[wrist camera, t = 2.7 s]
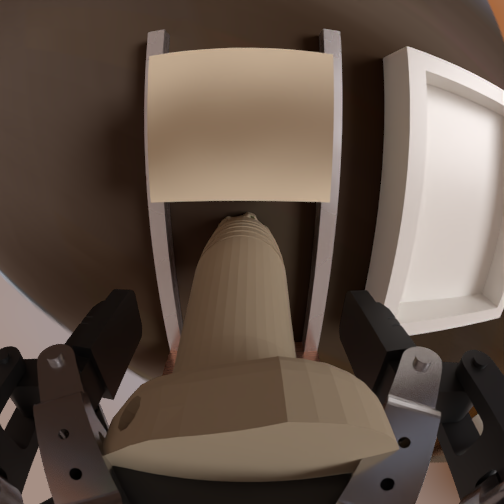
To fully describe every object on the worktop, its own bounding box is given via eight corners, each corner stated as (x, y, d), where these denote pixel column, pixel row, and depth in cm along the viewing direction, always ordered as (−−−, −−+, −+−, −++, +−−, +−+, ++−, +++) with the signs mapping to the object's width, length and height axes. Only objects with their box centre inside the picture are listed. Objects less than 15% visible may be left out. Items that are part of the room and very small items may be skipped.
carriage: (182, 83, 14) (149, 56, 8) (304, 82, 14) (333, 54, 8) (183, 180, 16) (150, 202, 11) (302, 180, 16) (329, 202, 11)
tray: (383, 58, 13) (406, 46, 10) (512, 111, 13) (537, 113, 10) (359, 314, 20) (373, 339, 17) (481, 300, 20) (499, 317, 17)
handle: (306, 227, 18) (428, 456, 4) (234, 290, 19) (218, 525, 5) (252, 171, 16) (278, 365, 2) (180, 243, 18) (67, 467, 4)
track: (154, 38, 13) (123, 9, 8) (334, 37, 13) (363, 7, 8) (176, 358, 22) (164, 404, 17) (311, 359, 22) (322, 405, 17)
